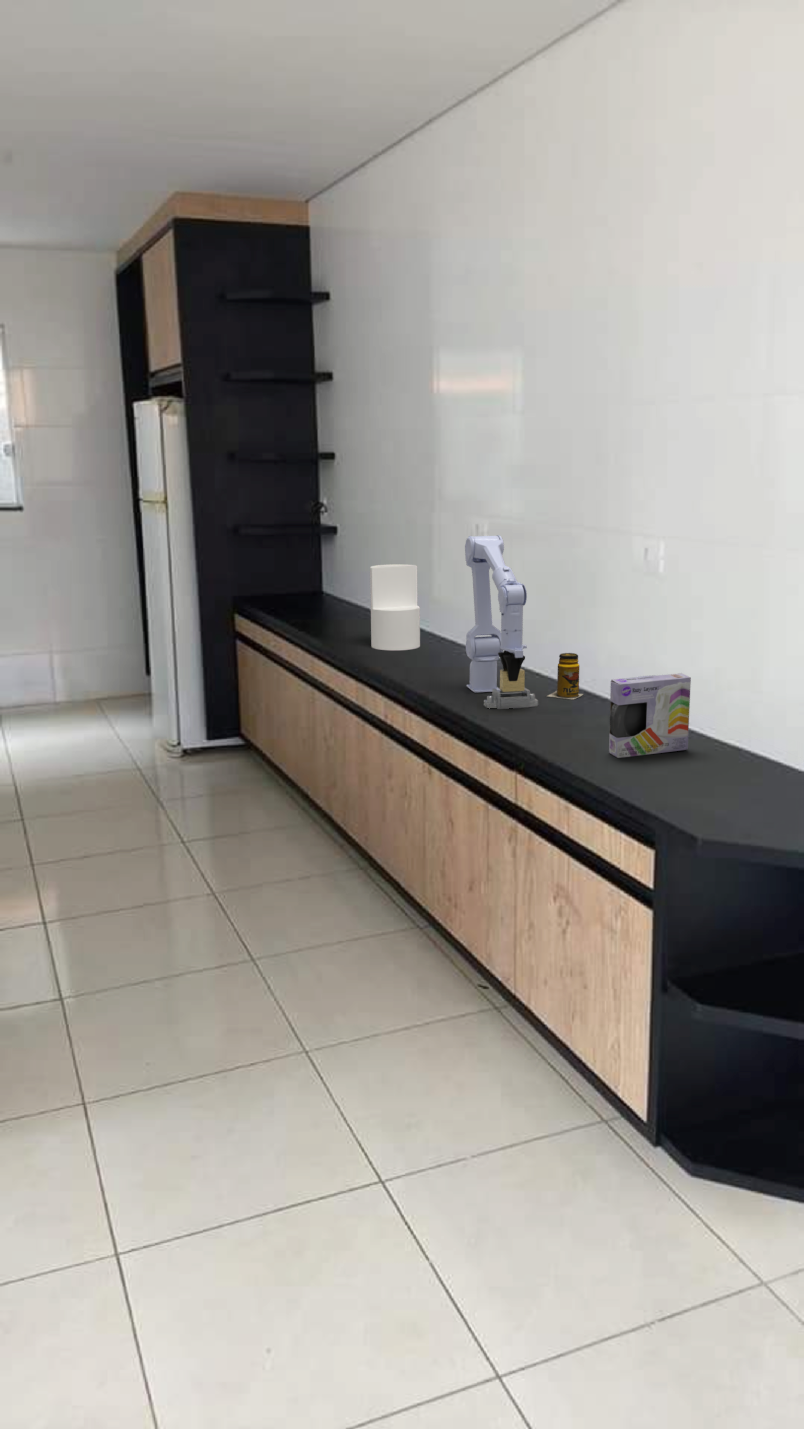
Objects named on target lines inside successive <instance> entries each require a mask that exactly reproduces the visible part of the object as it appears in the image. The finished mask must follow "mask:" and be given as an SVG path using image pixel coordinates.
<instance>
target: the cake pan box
mask: <svg viewBox="0 0 804 1429" xmlns="http://www.w3.org/2000/svg"><path fill="white" fill-rule="evenodd" d="M691 680H692V678H691V677H690V676H689V675H687V674H685V673H682V672H679V673H671V674H668V673H667V674H661V675H660V674H659V675H658V674H657V675H655V674H653V675H642V676H641V675H640V676H635V677H622V678H612V679H611V680H610V695H609V696H610V701H609V702H610V706H609V707H610V711H609V712H610V714H609V736H608V737H609V739H608V740H609V741H608V742H609V743H608V754H610V755H611V756H613V757H615V758H617V759H620V758H631V757H637V756H646V755H647V756H648V755H653V754H661V753H662V754H664V753H670V752H677V751H678V752H679V751H685V750H688V748H689V731H690V730H689V729H690V708H691V706H690V703H691V685H692V684H691V683H692V681H691Z"/></svg>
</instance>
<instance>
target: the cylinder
mask: <svg viewBox="0 0 804 1429" xmlns="http://www.w3.org/2000/svg"><path fill="white" fill-rule="evenodd" d="M369 571H370V572H369V573H370V574H369V576H370V578H369V580H370V581H369V582H370V584H369V585H370V587H369V588H370V630H371V631H370V635H371V636H370V640H371V644H370V645H371V646H370V647H371V648H372V649H375V650H379V651H380V650H382V651H408V650H415V649H418V648H420V647H421V618H420V616H421V607H420V606H419V605H418V565H416V564H402V563H400V564H399V563H398V564H397V563H396V564H393V563H391V564H378V565H376V564H375V565H371V566H370V567H369Z"/></svg>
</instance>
